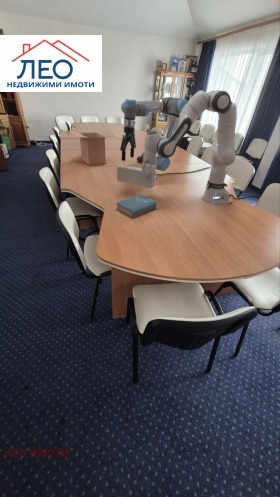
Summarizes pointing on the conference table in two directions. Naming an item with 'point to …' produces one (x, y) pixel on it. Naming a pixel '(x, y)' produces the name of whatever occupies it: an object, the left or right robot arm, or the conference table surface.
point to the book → (136, 205)
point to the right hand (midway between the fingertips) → (148, 178)
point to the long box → (135, 176)
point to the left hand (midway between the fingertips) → (127, 158)
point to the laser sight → (139, 159)
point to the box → (92, 146)
